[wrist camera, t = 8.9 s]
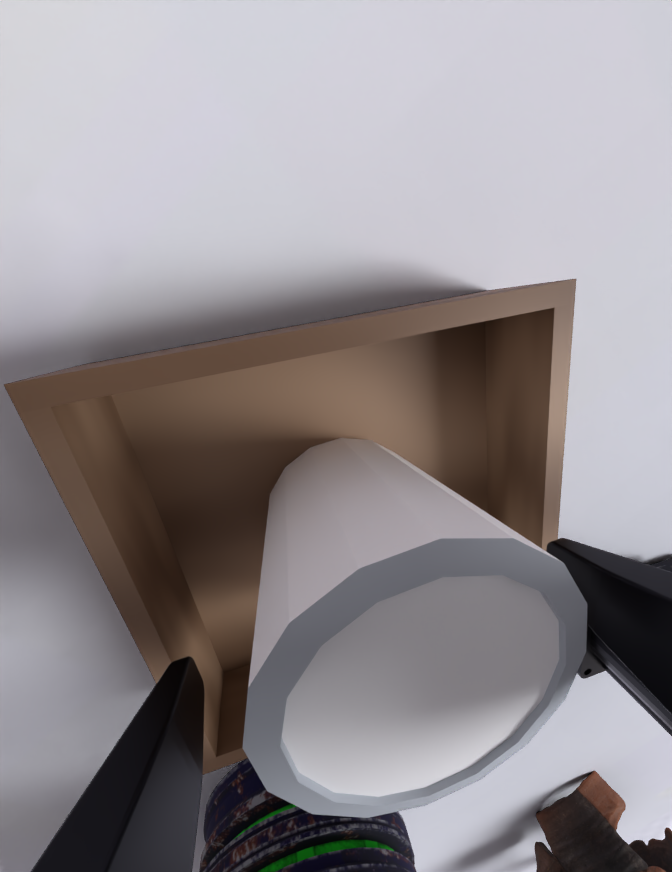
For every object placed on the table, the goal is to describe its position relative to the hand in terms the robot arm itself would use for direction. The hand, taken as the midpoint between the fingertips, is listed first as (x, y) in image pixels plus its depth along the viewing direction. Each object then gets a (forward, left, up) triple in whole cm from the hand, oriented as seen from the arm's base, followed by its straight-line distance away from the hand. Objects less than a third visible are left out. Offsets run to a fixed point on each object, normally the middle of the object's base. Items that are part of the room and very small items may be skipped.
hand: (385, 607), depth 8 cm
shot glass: (0, 0, -5) cm, 5 cm away
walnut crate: (0, 0, -5) cm, 5 cm away
